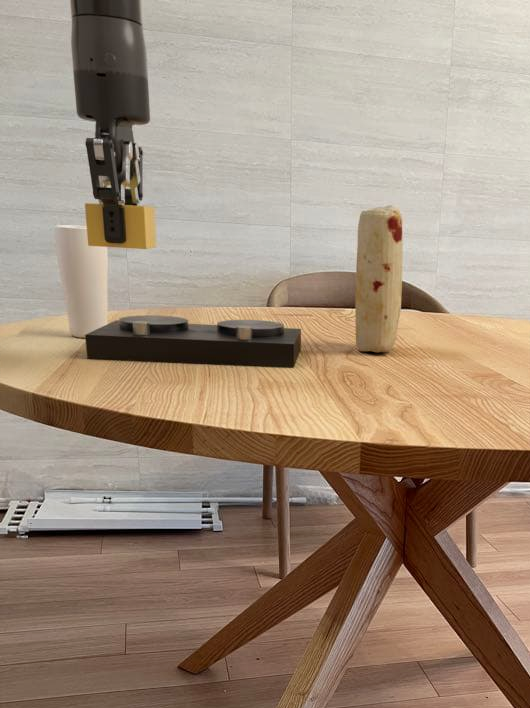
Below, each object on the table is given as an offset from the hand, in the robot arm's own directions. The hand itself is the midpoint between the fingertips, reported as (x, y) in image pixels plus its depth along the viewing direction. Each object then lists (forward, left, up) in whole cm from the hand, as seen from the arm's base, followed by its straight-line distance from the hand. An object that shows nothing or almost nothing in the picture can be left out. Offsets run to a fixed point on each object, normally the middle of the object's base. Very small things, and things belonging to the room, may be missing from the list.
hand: (122, 241), depth 94 cm
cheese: (0, 0, -1) cm, 1 cm away
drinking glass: (-12, +24, -15) cm, 31 cm away
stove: (+6, +13, -15) cm, 20 cm away
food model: (+30, +22, -15) cm, 40 cm away
